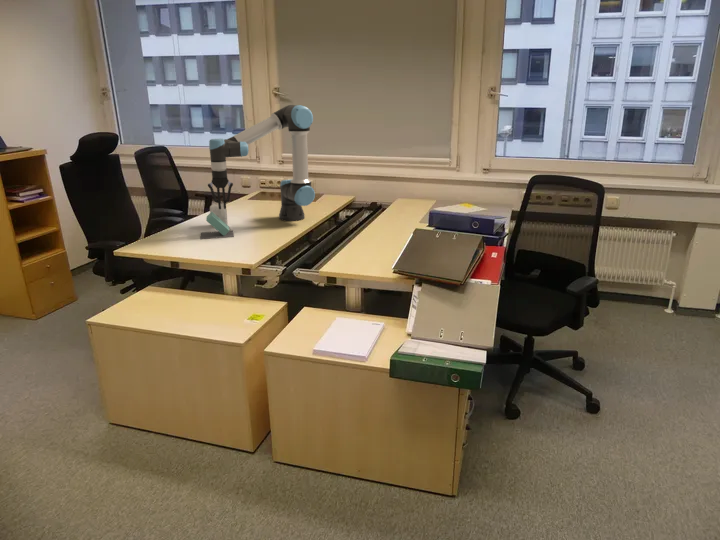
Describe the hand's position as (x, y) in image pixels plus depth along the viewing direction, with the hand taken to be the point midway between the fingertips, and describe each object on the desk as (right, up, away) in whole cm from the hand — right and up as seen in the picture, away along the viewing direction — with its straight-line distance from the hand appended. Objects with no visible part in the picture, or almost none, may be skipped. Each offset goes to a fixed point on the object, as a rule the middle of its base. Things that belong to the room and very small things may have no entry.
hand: (223, 215), depth 277 cm
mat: (-4, -10, +3) cm, 11 cm away
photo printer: (-7, -4, +20) cm, 22 cm away
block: (+1, -8, +3) cm, 9 cm away
